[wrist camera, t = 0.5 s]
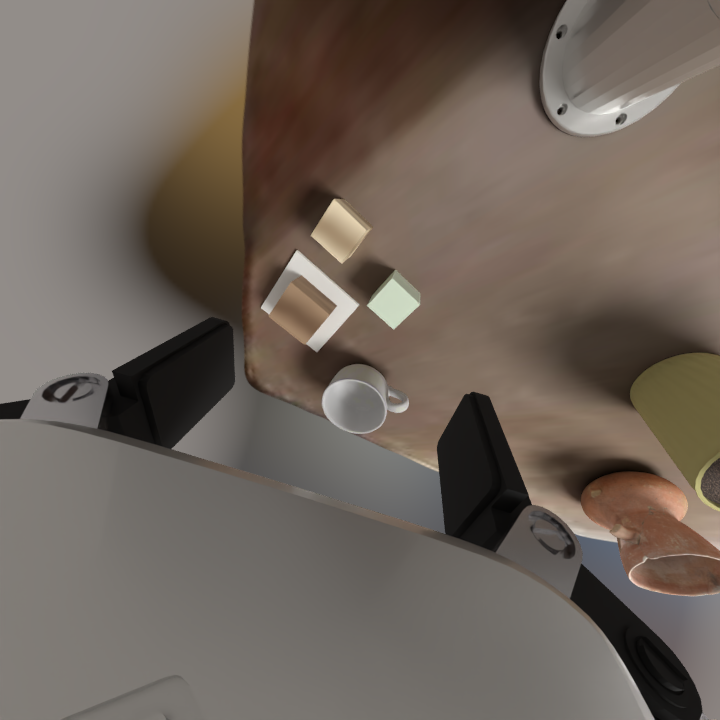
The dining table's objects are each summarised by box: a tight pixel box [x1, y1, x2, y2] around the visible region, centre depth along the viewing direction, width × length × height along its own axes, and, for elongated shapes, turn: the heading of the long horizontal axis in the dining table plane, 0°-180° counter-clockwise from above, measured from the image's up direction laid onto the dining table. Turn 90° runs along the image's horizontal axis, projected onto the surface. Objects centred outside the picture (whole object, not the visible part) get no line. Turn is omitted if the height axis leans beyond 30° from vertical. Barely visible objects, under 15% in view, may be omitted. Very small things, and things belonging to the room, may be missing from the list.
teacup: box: [322, 364, 409, 434], centre depth 45 cm, size 14×11×8 cm
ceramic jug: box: [581, 471, 720, 596], centre depth 44 cm, size 18×14×14 cm
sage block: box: [367, 270, 420, 329], centre depth 37 cm, size 5×5×5 cm
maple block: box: [311, 199, 373, 263], centre depth 34 cm, size 5×5×5 cm
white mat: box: [261, 250, 360, 352], centre depth 43 cm, size 12×12×1 cm
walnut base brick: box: [269, 275, 337, 345], centre depth 41 cm, size 7×7×4 cm
